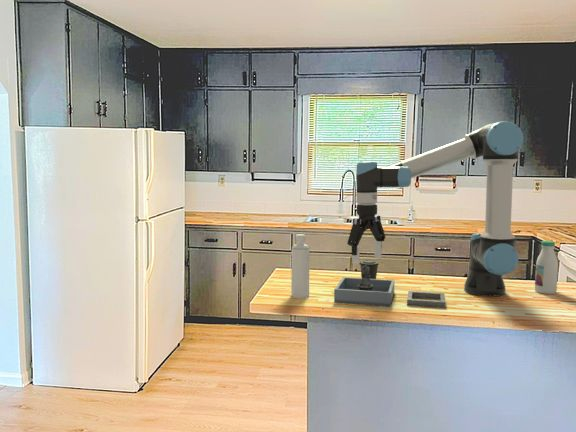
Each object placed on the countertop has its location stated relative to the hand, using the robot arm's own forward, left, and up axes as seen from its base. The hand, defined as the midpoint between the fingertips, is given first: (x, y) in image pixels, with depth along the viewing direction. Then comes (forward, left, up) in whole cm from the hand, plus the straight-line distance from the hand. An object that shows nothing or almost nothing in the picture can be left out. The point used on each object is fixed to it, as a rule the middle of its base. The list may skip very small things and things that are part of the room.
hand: (367, 261), depth 198 cm
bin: (0, 0, -14) cm, 14 cm away
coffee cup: (+1, -21, -14) cm, 25 cm away
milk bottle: (-67, -27, -14) cm, 73 cm away
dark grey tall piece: (0, 0, -13) cm, 13 cm away
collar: (-22, 0, -14) cm, 26 cm away
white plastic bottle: (+24, +4, -14) cm, 28 cm away
